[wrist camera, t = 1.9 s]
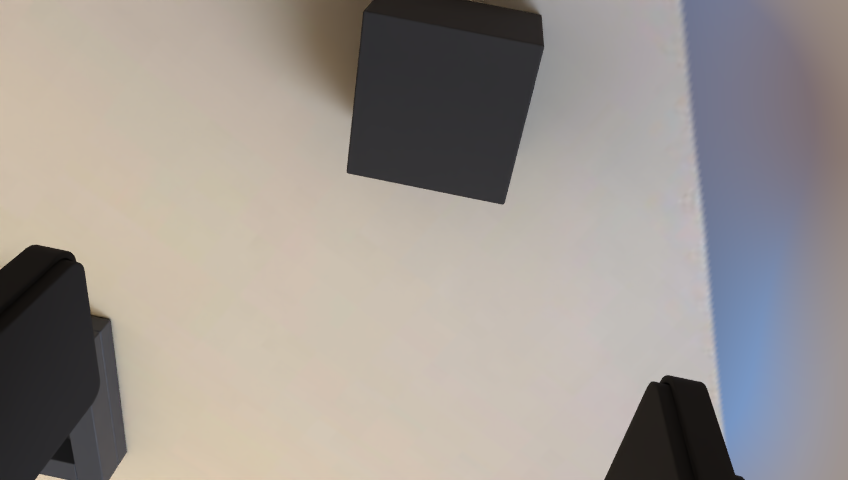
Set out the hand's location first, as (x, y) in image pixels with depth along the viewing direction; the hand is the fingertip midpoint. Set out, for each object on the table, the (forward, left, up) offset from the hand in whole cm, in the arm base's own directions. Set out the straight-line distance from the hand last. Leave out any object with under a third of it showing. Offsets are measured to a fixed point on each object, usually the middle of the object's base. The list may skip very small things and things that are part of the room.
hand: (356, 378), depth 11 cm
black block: (0, 0, -16) cm, 16 cm away
